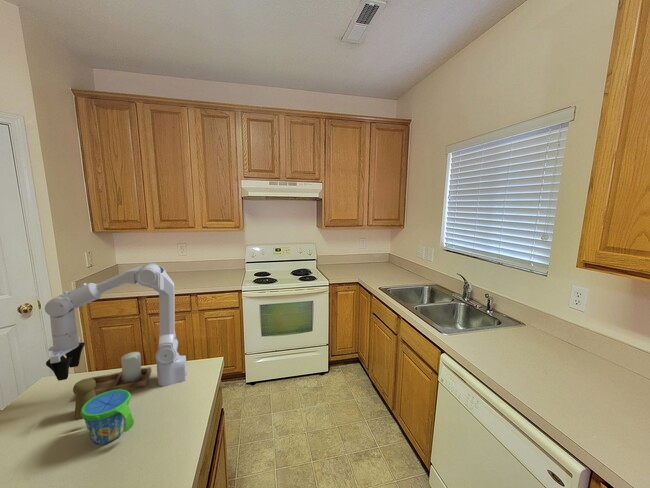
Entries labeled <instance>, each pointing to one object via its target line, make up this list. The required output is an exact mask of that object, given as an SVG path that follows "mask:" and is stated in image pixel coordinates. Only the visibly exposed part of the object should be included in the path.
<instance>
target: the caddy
mask: <svg viewBox="0 0 650 488" xmlns="http://www.w3.org/2000/svg"><path fill="white" fill-rule="evenodd" d="M141 371H142V381H138V382H133V383H128V384H123V377H122V371H121V372H114V373H110V374H102V375H97V376H92V377H90V378H93V379H94V380H95V381H96V386H95V388H94V391H95V394H96V396H97V395H99V394H102V393H104V392H108V391H111V390H118V389H122V390H127V391H128V392H129V391H134V390H137V389H142V388H147V385H148V382H149V379H150V377H151V374H152V366H148V367H141Z"/></svg>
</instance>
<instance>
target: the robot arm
mask: <svg viewBox="0 0 650 488" xmlns="http://www.w3.org/2000/svg"><path fill="white" fill-rule="evenodd" d="M124 284H131V285H132V284H133V285H136V284H139V285H141V286H142V287H146V288H148V289H152V290H154V291H156V292H157V293H158V297H159V298H158V299H159V301H158V304H159V306H158V307H159V309H158V310H159V311H158V312H159V316H158V317H159V337H158V338H159V339H158V349H157V351H156V352H155V360H156V372H157V373H156V374H157V385H158V386H160V387H167V386H171V385H172V386H173V385H174V384H178V383H182V382H186V380H187V376H188V369H187V357H186V356H187V355H180V353H179V352H178V348H179V340H178V338H177V335H176V334H177V333H176V330H175V329H176V326H175V325H176V322H175V321H176V319H175V317H176V315H175V314H176V313H175V312H176V311H175V310H176V308H175V301H176V299H175V297H176V296H175V295H176V294H175V289H176V288H175V286H176V285H175V283H174V281H173V280H172V279H171V277H170V276H169V274H168V273H167V271H166V269H165V268H164V267H163V266H161V265H159V264H158V263H155V262H149V263H146V264H145V265H139V266H136V267H134V268H130V269H128V270H125V271H123V272H121V273H119V274H117V275H115V276H112V277H110V278H108V279H106V280H104V281H102V282H99V283H95V282H94V283H93V282H88V283H87V282H84V283H81V284H80V285H79V287H76V288H74V289H71V290H66V291H64V292H62V294H59V295H57V296H55V297H54V298H52V299H50V300H48V302H46V304H45V306H44V312H45V313H46V314H47V315H48V316H49V320H50V329H51V330H50V331H51V337H52V339H51V340H52V346H50V347H49V348H48V352H51V355H50V357H49V359H48V360H47V361H46V362H45V365H46V367H48V368H49V369H50V370H51V371H52V372H53V374H54V376H55V377H56V379H57V381H59V382H60V381H65V380H67V379H68V378H69V370H70V368H75V367H76V368H77V367H79V365H80V360H81V355H82V352H83V350H84V347H85V344H86V343H85V342H83V341H81V335H78V329H77V328H78V327H77V320H76V319H77V318H76V310H75V309H78V308H80V307H82V306H85V305H88V304H89V303H91V302H94V301H96V300H99V299H100V298H101V297H102V294H103V293H105V292H107V291H109V290H113V289H115V288H117V287H119V286H122V285H124Z"/></svg>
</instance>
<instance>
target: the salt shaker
mask: <svg viewBox="0 0 650 488" xmlns="http://www.w3.org/2000/svg"><path fill="white" fill-rule="evenodd" d="M141 359H142V357H141V352H139V351H131V352H128V353H125V354H123V355H122V356H121V357H120V362H121V372H122V377H123V384H128V383H133V382H138V381H142V371H141V368H142V360H141Z"/></svg>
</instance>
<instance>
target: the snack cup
mask: <svg viewBox="0 0 650 488" xmlns="http://www.w3.org/2000/svg"><path fill="white" fill-rule="evenodd" d="M131 397H132V394H131V393H130V392H129V391H127V390H122V389H118V390H111V391H108V392H104V393H102V394H99V395H97V396H95V397H94V398H92V399H90V400H89V401H88V402H86V403H85V404H84V406H83V407H82V410H81V412H80V413H81V416H82V417H83V419H82V420H84V422H85V426H86V428H87V431H88V434H89V438H90V440H91V443H93V444H94V445H102V446H103V445H105V444H107V443H110V442H113V441H115V440H116V439H119V438H120V436H121V435H122V434H123V433H124V432H129V430H130V429H132V427H134V424H135V420H134V417H133V415H132V412H131V409H130V407H129V406H130V405H129V403H130V401H131Z"/></svg>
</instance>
